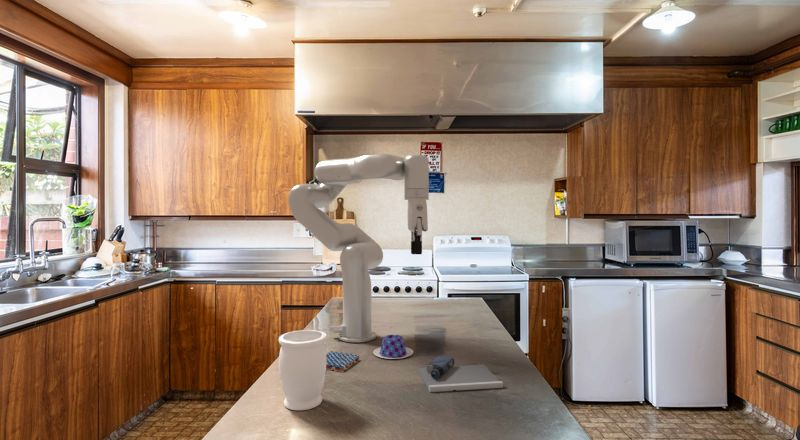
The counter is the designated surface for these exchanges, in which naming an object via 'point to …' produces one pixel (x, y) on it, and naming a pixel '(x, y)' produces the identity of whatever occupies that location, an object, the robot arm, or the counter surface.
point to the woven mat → (340, 361)
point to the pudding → (393, 348)
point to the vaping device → (440, 366)
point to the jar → (302, 368)
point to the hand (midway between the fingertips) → (416, 253)
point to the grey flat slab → (461, 379)
